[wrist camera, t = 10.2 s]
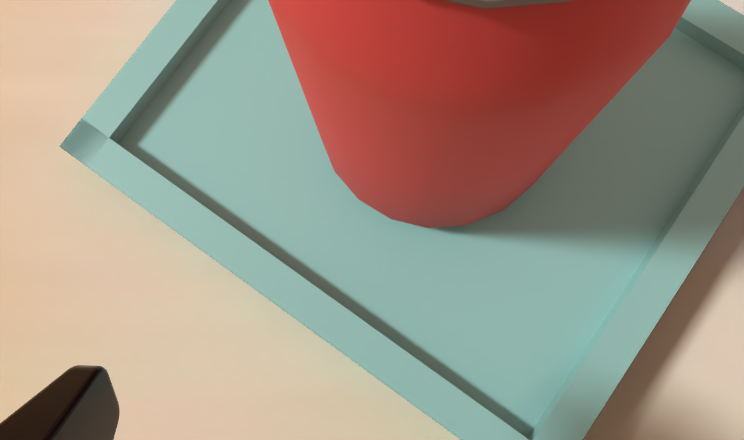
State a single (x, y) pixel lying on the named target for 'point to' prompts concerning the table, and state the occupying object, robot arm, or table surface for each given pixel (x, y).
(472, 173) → the beer can
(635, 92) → the tray
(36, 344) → the table surface
